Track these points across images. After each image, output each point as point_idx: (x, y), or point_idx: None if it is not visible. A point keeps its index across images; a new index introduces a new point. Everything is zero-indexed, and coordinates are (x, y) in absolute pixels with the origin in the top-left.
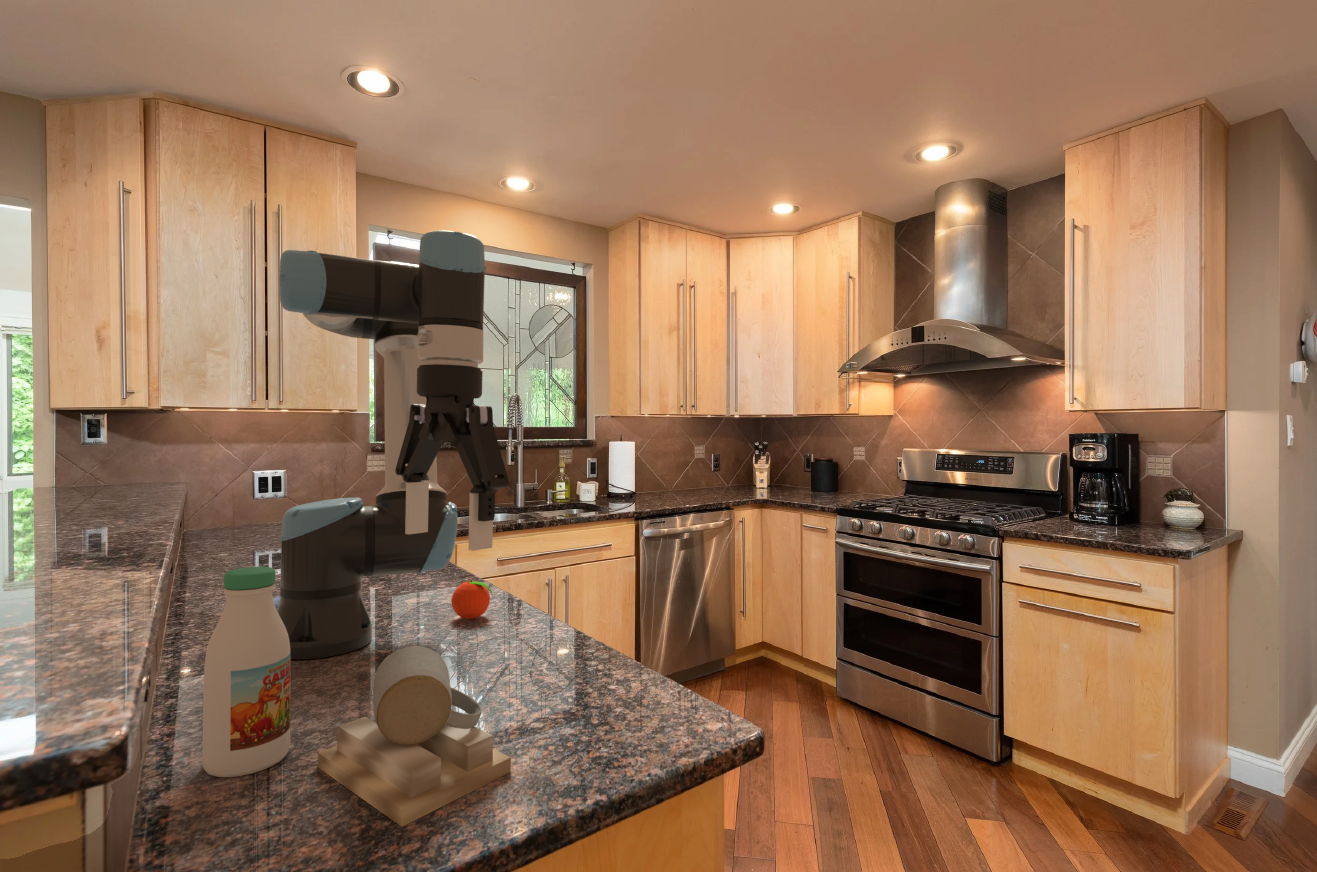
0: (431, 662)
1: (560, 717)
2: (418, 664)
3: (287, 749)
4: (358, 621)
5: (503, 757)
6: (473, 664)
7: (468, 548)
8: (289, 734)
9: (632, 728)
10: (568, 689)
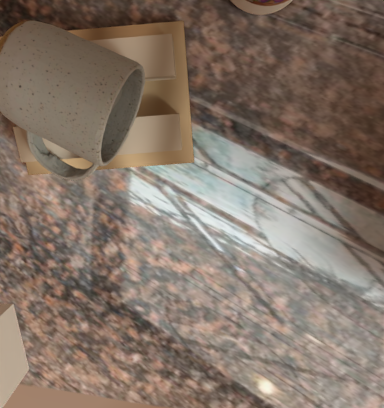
0: (43, 117)
1: (108, 275)
2: (27, 87)
3: (236, 4)
4: None
5: (33, 169)
6: (316, 294)
7: (12, 306)
8: (244, 3)
9: (38, 307)
10: (164, 323)
